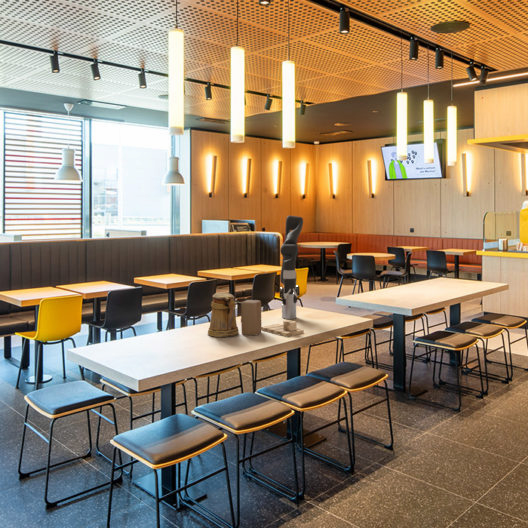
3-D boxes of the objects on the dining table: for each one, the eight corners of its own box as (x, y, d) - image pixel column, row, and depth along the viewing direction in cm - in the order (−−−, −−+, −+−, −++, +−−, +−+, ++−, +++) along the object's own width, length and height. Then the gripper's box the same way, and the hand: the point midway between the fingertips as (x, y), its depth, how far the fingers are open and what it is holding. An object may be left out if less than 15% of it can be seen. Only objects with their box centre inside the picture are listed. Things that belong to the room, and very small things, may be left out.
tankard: (227, 329, 340) (226, 290, 338) (248, 336, 321) (247, 294, 319) (202, 333, 330) (201, 293, 327) (222, 340, 311) (221, 298, 308)
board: (261, 330, 337) (261, 326, 336) (278, 326, 345) (278, 323, 345) (286, 336, 318) (286, 333, 318) (303, 333, 327) (303, 329, 327)
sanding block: (283, 329, 327) (283, 321, 327) (288, 328, 330) (288, 319, 330) (291, 331, 322) (291, 322, 321) (296, 330, 325) (296, 321, 324)
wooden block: (262, 332, 331) (261, 300, 329) (256, 335, 322) (255, 302, 320) (246, 331, 334) (246, 299, 332) (241, 334, 325) (240, 302, 323)
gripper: (294, 275, 331) (294, 301, 333) (276, 277, 322) (276, 304, 324) (302, 276, 325) (302, 303, 327) (284, 279, 316) (284, 306, 318)
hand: (289, 303), depth 325 cm, fingers open, 8 cm apart
